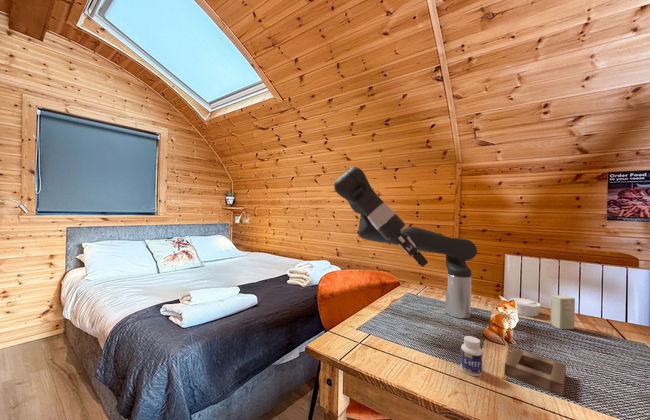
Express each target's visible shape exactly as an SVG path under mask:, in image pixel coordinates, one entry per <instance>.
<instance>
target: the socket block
mask: <svg viewBox="0 0 650 420" xmlns="http://www.w3.org/2000/svg"><path fill="white" fill-rule="evenodd" d="M504 375H505V376H508V377H510V378H513V379H515V380H518V381H521V382H523V383H525V384H528V385H531V386H534V387H536V388H540V389H542V390H545V391H547V392H550V393H551V394H554V395H558V396H560V397H564V391H565V384H566V375H567V365H566V364H564V363H561V362H558V361H554V360H551V359H548V358H545V357H541V356H538V355H535V354H532V353H529V352H526V351H523V350H520V349H517V348H513V349H512V350H511V352H510V354H509V356H508V357H507V359H506V361H505V362H504Z"/></svg>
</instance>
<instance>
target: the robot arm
mask: <svg viewBox="0 0 650 420" xmlns="http://www.w3.org/2000/svg"><path fill="white" fill-rule="evenodd" d="M333 187H334V190H335V191H334V192H336V193H337V194H338V196H340V197H341V198H343V199H344V200H346V201H347V203H348V205H349V206H350V208H351V209H352V212H355V213H356V214H358V215H360V219H359V224H358V236H359V238H361V239H363V240H366V241H371V242H376V243H377V242H378V243H383V244H390V245H395V246H399V247H401V249H402V250H403V251H404V252H405V253H407V254H408V256H410V257H412V258H413V259H414V261H416V262H417V263H418V264H419V266H420V267H422V268H423V267H425V266H426V265H427V264H428V262H429V260H427V259H426V257H425V256H424V255H423V254H422V253H421V251H422V252H427V253H432V254H433V253H435V254H443V255H445V265H446V269H447V290H446V291H445V309H444V310H445V314H448V315H449V316H451V317H454V318H459V319H469V318H471V315H472V311H471V309H472V308H471V307H472V301H471V300H472V269H471V268H470V267H469V266H468V264H467V261H471V260H473V259H475V258H476V256H477V253H478V249H477V245H476V244H475V243H474V242H473V241H471V240H469V239H468V238H461V237H449V236H446V235H443V234H440V233H437V232H434V231H431V230H427V229H425V228H420V227H417V226H408V227H405V226H406V223H405V222H404V221H403V219H402V218H400V216H399V215H398V214H397V213H396V212H395V211H394V210H393V209H392V207H390V206H389V205H387V204H386V202H384V201H383V200H382V199H381V197H380V196H379V195H378V194H377V193H376V192H375V191H374V189H373V187H372V185H371V184H370V182H369V181H368V178H367V176H366V174H365V173H364V171H363V170H362V169H361V168H359V167H357V166H353V167H350V168H349V169H348V170H347V171H346V172H344V173H343V174H342V175H340V177H338V178H337V179H336V180H335V181H334V185H333Z"/></svg>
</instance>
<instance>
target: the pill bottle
mask: <svg viewBox="0 0 650 420" xmlns="http://www.w3.org/2000/svg"><path fill="white" fill-rule="evenodd" d="M480 347H481V340H480V339H478V338H477V337H475V336H470V335H466V336H464V337H463V344H461V347H460V369H461V371H462V372H464V373H465V374H467V375H468V376H474V377H479V376H482V373H483V350H482V348H480Z"/></svg>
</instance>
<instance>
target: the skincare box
mask: <svg viewBox="0 0 650 420" xmlns="http://www.w3.org/2000/svg"><path fill="white" fill-rule="evenodd" d="M575 305H576V298H575V297H572V296H569V295H567V294H552V295H551V296H550V325H551V326H553V327H555V328H557V329H559V330H574V329H575V322H576V321H575V319H576V316H575V311H576V306H575Z"/></svg>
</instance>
